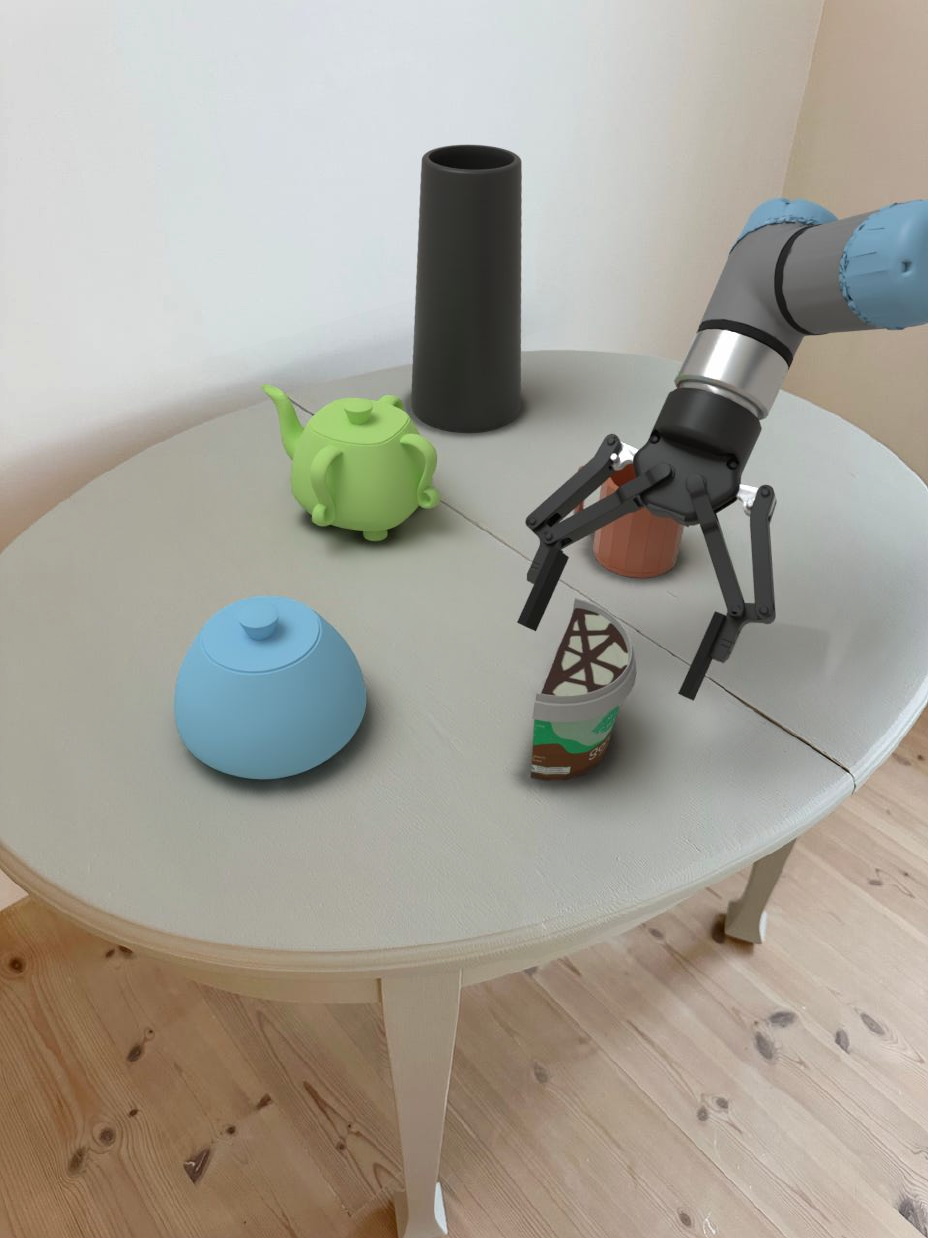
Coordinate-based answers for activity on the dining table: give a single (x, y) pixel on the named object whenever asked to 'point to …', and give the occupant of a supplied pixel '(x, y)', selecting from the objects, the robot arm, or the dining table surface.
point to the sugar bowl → (268, 690)
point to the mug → (635, 537)
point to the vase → (468, 289)
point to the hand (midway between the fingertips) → (603, 661)
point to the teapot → (358, 463)
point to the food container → (582, 694)
